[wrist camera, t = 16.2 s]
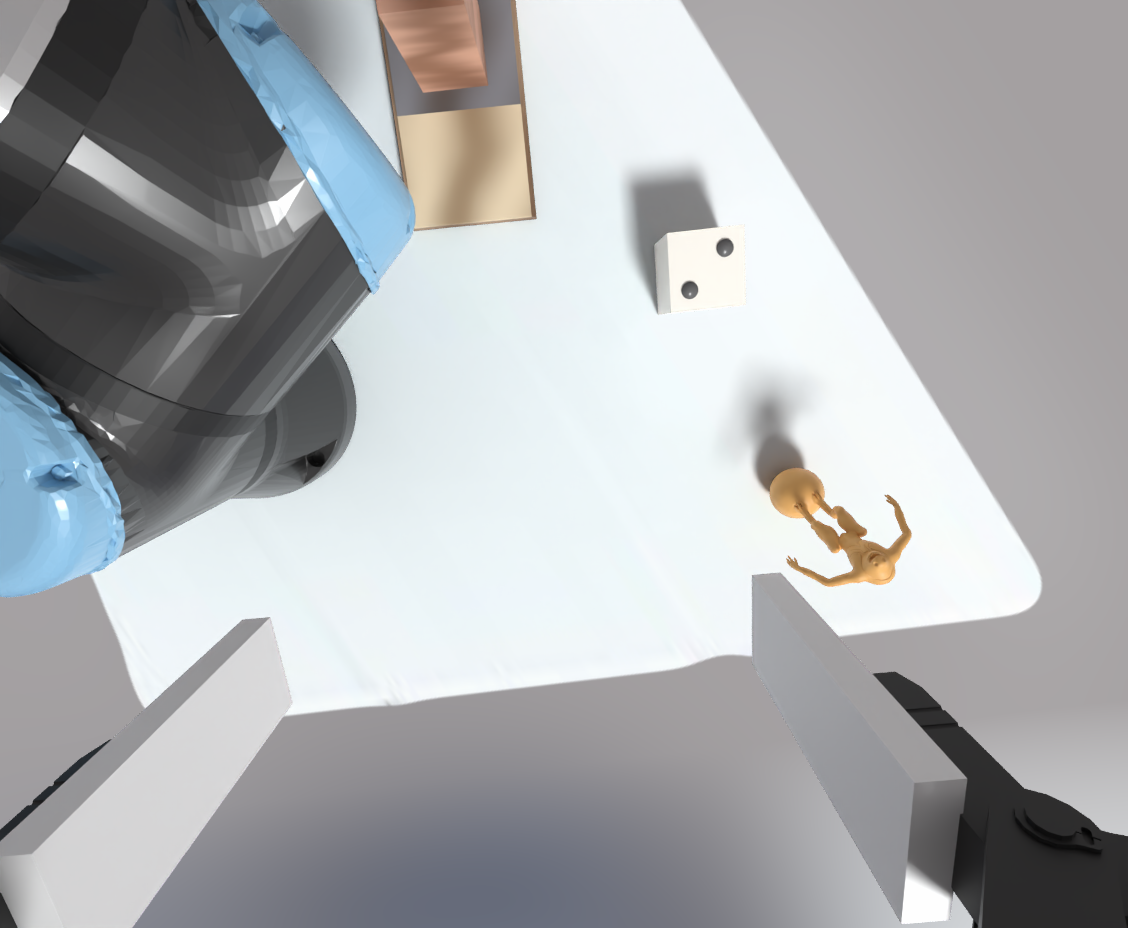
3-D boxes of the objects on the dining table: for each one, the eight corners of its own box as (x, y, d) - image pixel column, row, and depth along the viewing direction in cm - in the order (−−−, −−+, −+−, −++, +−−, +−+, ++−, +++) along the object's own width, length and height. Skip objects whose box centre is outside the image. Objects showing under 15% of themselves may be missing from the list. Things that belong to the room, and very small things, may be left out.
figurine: (818, 437, 42) (916, 478, 31) (853, 494, 44) (960, 555, 32) (730, 495, 43) (793, 556, 32) (767, 549, 45) (840, 626, 33)
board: (414, 230, 38) (409, 228, 37) (359, -127, 33) (353, -143, 32) (536, 218, 38) (535, 215, 37) (501, -143, 33) (499, -159, 32)
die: (657, 314, 40) (671, 312, 35) (653, 245, 39) (667, 232, 34) (723, 307, 40) (746, 304, 35) (721, 237, 39) (744, 224, 34)
